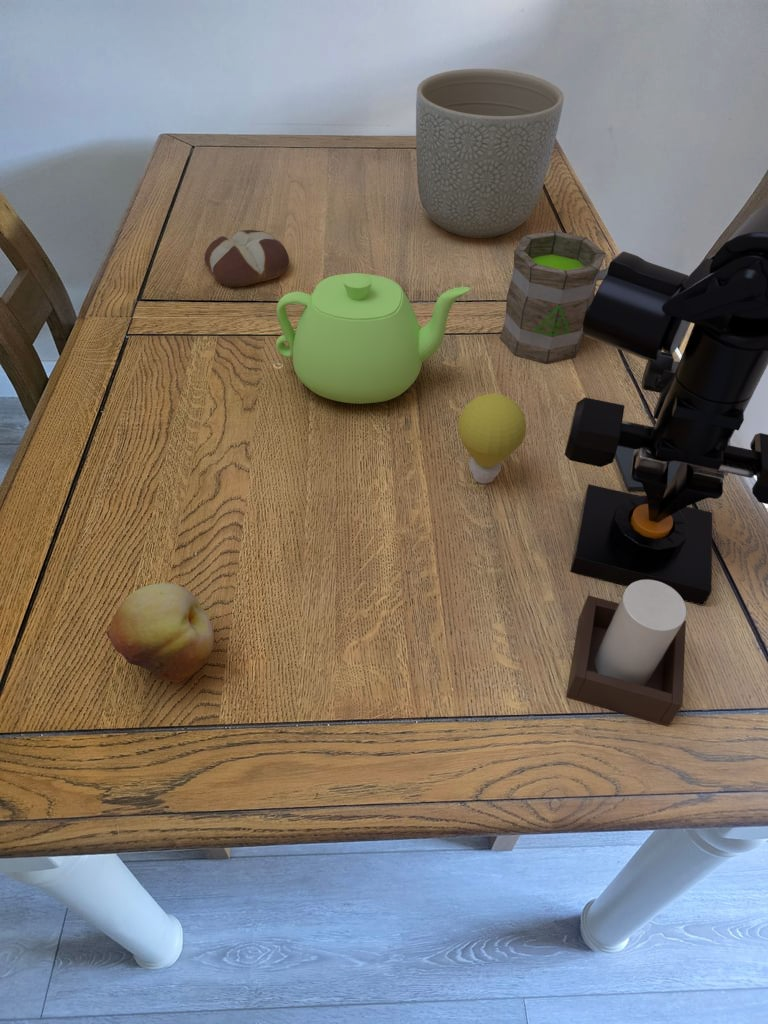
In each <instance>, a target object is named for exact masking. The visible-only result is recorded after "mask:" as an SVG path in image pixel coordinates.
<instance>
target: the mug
mask: <svg viewBox="0 0 768 1024" xmlns="http://www.w3.org/2000/svg"><path fill="white" fill-rule="evenodd" d="M606 255H607V254H606V252H605V251H604V250H603V249H601V247H600V246H597V244H596V243H594V242H593V241H592V240H591V239H590V238H588V237H585V236H582V235H577V234H571V233H567V232H563V231H559V230H558V231H557V230H550V231H545V232H540V233H538V232H537V233H533V234H532V233H531V234H527V235H524V236H523V237H522V238H521V240H520V241H519V242H518V244H517V246H515V249H514V251H513V267H512V274H511V281H510V284H509V287H508V291H507V294H506V295H507V296H506V303H505V304H506V306H505V315H504V322H503V327H502V330H501V333H500V336H499V339H500V340H501V341H502V342H503V344H504V345H505V346H506V347H507V348H508V349H509V351H510V352H511V353H512V354H513V355H514V356H516V357H519V358H523V359H527V360H531V361H534V362H538V363H542V364H545V365H548V364H552V363H556V362H557V363H558V362H561V361H566V360H570V359H574V358H576V357H577V354H578V352H579V350H580V348H581V346H582V343H583V341H584V336H585V335H584V334H583V322H584V317H585V313H586V310H587V308H588V307H589V306H590V305H591V304H592V301H593V299H594V297H595V294H596V287H597V282H598V281H603V280H604V278H605V276H606V275H607V272H608V268H609V266H607V267H606V268H605V269H601V267H602V265H603V262H604V261H605V257H606Z"/></svg>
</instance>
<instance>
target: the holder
mask: <svg viewBox="0 0 768 1024" xmlns="http://www.w3.org/2000/svg"><path fill="white" fill-rule="evenodd" d="M618 604H619V602H615V601H611V600H607V599H603V598H601V597H596V596H593V595H587V596H586V599H585V601H584V604H583V607H582V609H581V611H580V615H579V616H578V620H577V621H578V622H577V628H576V633H575V639H574V645H573V651H572V652H573V653H572V657H571V658H572V659H571V665H570V670H569V676H568V684H567V689H566V694H565V697H566V698H567V699H571V700H575V701H578V702H582V703H586V704H589V705H592V706H596V707H599V708H603V709H607V710H609V711H613V712H617V713H619V714H623V715H627V716H631V717H634V718H637V719H641V720H644V721H648V722H652V723H654V724H657V725H661V726H665V727H669V726H670V725H671V723H672V722H673V720H674V719H675V717H676V716H677V714H678V713H679V711H680V710H681V709H682V707H683V705H684V704H683V703H684V682H685V681H684V679H685V677H684V676H685V653H686V652H685V651H686V627H687V621H686V619H685V620H684V622H683V624H682V626H681V627H680V629H679V631H678V632H677V634H676V636H675V637H674V639H673V641H672V643H671V644H670V646H669V648H668V649H667V651H666V653H665V654H664V656H663V658H662V660H661V661H660V663H659V665H658V666H657V668H656V670H655V671H654V673H653V675H652V677H651V678H650V680H649V682H648V683H647V684H646V685H645V686H642V685H638V684H635V683H631V682H627V681H624V680H620V679H617V678H613V677H610V676H606V675H602V674H599V673H598V671H597V669H596V666H595V656H596V653H597V651H598V649H599V646H600V644H601V642H602V640H603V638H604V635H605V633H606V631H607V629H608V627H609V624H610V622H611V620H612V618H613V615H614V613H615V611H616V609H617V607H618Z"/></svg>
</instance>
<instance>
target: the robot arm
mask: <svg viewBox="0 0 768 1024" xmlns="http://www.w3.org/2000/svg"><path fill="white" fill-rule="evenodd" d="M608 267H609V268H608ZM608 267H607V268H608V272H607V275H606V276H605V278H604V280H601V283H600V284H599V286H598V288H597V290H596V291H595V294H594V299H593V301H592V304H591V305H590V306H589V307H588V308H587V310H586V313H585V317H584V322H583V334H584V335H583V336H584V337H587V338H589V339H592V340H594V341H597V342H599V343H602V344H604V345H606V346H609V347H612V348H614V349H617V350H619V351H622V352H625V353H628V354H630V355H633V356H635V357H637V358H640V359H643V360H645V361H646V364H645V367H644V371H643V375H642V377H641V388H642V390H643V391H649V392H655V393H659V394H658V395H659V396H658V399H657V401H656V404H655V407H654V409H653V417H652V418H653V419H655V420H656V421H655V424H654V426H652V425H646V424H642V423H637V422H631V421H627V420H624V413H625V405H626V404H625V405H624V404H620V403H615V402H610V401H606V400H600V399H595V398H590V397H583V398H582V399H580V400H579V401H578V402H576V404H575V408H574V410H573V415H572V418H571V423H570V427H569V432H568V437H567V441H566V445H565V450H564V454H563V455H564V456H565V457H566V458H567V460H569V461H572V462H576V463H579V464H585V465H589V466H594V467H598V468H602V467H605V466H607V465H610V464H613V463H614V460H615V454H616V451H617V447H618V446H621V447H626V448H631V449H634V452H633V460H632V468H631V478H632V479H633V480H634V481H637V482H640V483H642V485H643V487H644V490H645V491H644V492H645V496H647V500H648V512H649V520H650V521H654V522H660V521H662V520H663V519H665V518H667V517H668V516H670V515H672V514H674V513H675V512H677V511H679V510H681V509H683V508H685V507H690V506H691V505H694V504H697V503H698V502H701V501H703V500H705V499H706V500H707V499H713V500H718V499H720V498H721V497H722V495H723V493H724V479H725V476H728V475H729V474H730V475H735V476H739V477H745V478H749V479H753V478H754V477H755V476H756V480H755V482H754V484H753V486H752V488H751V491H752V495H753V497H754V498H755V499H756V501H757V502H758V503H761V504H765V505H768V434H767V433H763V432H759V433H755V434H754V436H753V437H752V439H751V441H750V445H749V446H750V447H749V448H750V449H749V448H744V447H739V446H734V445H731V439H732V437H733V435H734V433H735V432H736V431H738V432H739V431H740V429H741V427H742V424H744V421H745V417H744V414H745V411H746V409H747V407H748V405H749V403H750V402H751V399H752V398H753V395H754V393H755V391H756V389H757V387H758V385H759V383H760V381H761V379H762V377H763V375H764V374H765V371H766V369H767V367H768V203H767V204H765V205H763V206H761V207H759V208H757V209H756V210H755V211H754V212H753V213H751V214H750V215H749V216H748V217H747V219H746V220H745V221H744V222H743V223H742V224H741V225H740V226H739V227H738V228H737V229H736V230H735V232H733V234H732V235H731V236H730V237H729V238H728V239H727V241H725V243H724V244H722V246H720V248H719V249H718V251H716V252H715V253H714V254H713V255H711V256H710V257H707V258H704V259H703V260H702V261H701V262H700V263H699V264H698V266H696V267H695V268H694V269H693V271H691V273H690V274H686V273H682V272H680V271H676V270H673V269H670V268H668V267H664V266H661V265H658V264H655V263H652V262H649V261H647V260H645V259H644V258H642V257H640V256H638V255H637V254H634V253H630V252H627V251H621V252H619V254H618V255H617V256H615V257H614V258H613V259H612V260H611V261H610V262H609V265H608ZM690 324H693V326H692V329H691V331H690V334H689V337H688V339H687V342H686V345H685V347H684V349H683V352H682V355H681V357H680V360H679V361H676V360H675V358H674V356H673V355H674V353H675V351H676V350H677V349H678V347H679V345H680V344H681V343H682V341H683V339H684V337H685V335H686V333H687V331H688V329H689V326H690ZM671 461H674V462H679V463H680V466H679V468H678V470H677V471H676V473H675V475H674V477H673V478H672V480H671V482H670V483H669V485H668V487H667V481H668V467H669V463H670V462H671ZM666 487H667V489H666Z"/></svg>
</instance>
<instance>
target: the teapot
mask: <svg viewBox="0 0 768 1024" xmlns="http://www.w3.org/2000/svg"><path fill="white" fill-rule="evenodd" d="M469 291H470V287H469V286H459V287H454V288H453V287H452V288H451V289H447V290H446V291H444V292H443V293H441V294H440V295H439V297H438V298H437V300H436V302H435V304H434V307H433V312H432V317H431V319H430V321H429V322H428V323H427V324H425V325H424V326H422V327H421V326H420V323H419V320H418V317H417V314H416V312H415V310H414V308H413V306H412V304H411V302H410V300H409V297H408V296H407V295H406V293H405V291H404V290H403V288H402V287H401V285H400V284H398V282H396V281H394V280H392V279H390V278H387V277H385V276H384V277H383V276H380V275H375V274H369V273H368V274H367V273H362V272H352V273H344V274H343V273H342V274H336V275H331V276H329V277H326V278H324V279H322V280H321V281H320V282H318V283H317V285H316V287H315V288H314V290H313V291H312V293H311V294H309V293H306V292H303V291H292V292H289V293H288V292H287V293H286V294H285V295H283V296H282V297H281V298H280V299H279V300H278V302H277V305H276V318H277V322H278V324H279V326H280V329H281V331H282V333H283V334H281V335H280V336H278V337H277V339H276V341H275V349H276V352H277V353H278V354H279V355H281V356H282V357H284V358H292V365H293V370H294V372H295V375H296V377H297V378H298V379H299V381H300V382H301V383H302V384H303V385H305V387H306V388H308V389H309V390H310V391H312V392H313V393H314V394H316V395H317V396H320V397H322V398H325V399H328V400H331V401H336V402H341V403H346V404H359V405H360V404H373V403H380V402H381V403H383V402H388V401H390V400H392V399H395V398H397V397H399V396H400V395H402V394H403V393H405V392H406V391H407V390H408V389H409V388H410V387H411V386H412V385H413V383H415V381H416V380H417V378H418V377H419V374H420V372H421V369H422V366H423V362H425V361H426V360H428V359H431V357H433V356H434V355H435V354H436V353H437V352H438V351H439V349H440V347H441V346H442V344H443V340H444V339H445V334H446V329H447V323H448V318H449V313H450V311H451V308H452V307H453V305H454V304H455V302H456V301H458V299H460V298H461V297H462V296H464V295H465V294H467V293H468V292H469ZM292 304H293V305H295V304H296V305H302V306H304V308H303V309H302V312H301V315H300V317H299V319H298V322H297V325H296V329H295V330H294V328H293V326H292V323H291V322H290V319H289V317H288V313H287V306H288V305H292ZM285 343H287V344H288V345H287V344H285Z"/></svg>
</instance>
